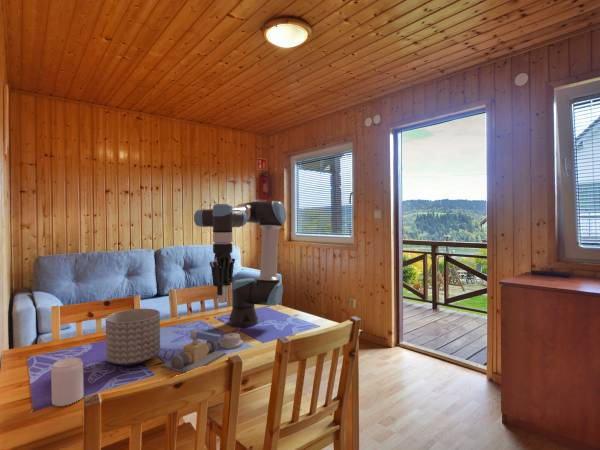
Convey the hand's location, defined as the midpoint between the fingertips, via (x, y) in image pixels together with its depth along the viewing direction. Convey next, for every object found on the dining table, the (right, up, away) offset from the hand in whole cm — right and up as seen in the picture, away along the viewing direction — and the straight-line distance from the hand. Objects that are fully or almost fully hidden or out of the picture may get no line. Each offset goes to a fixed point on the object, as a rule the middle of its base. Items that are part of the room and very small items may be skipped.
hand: (222, 302), depth 138 cm
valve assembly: (-10, -22, -2) cm, 25 cm away
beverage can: (-41, -23, -31) cm, 56 cm away
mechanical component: (0, -23, +15) cm, 27 cm away
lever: (-6, -13, -4) cm, 15 cm away
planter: (-34, -23, -2) cm, 41 cm away
